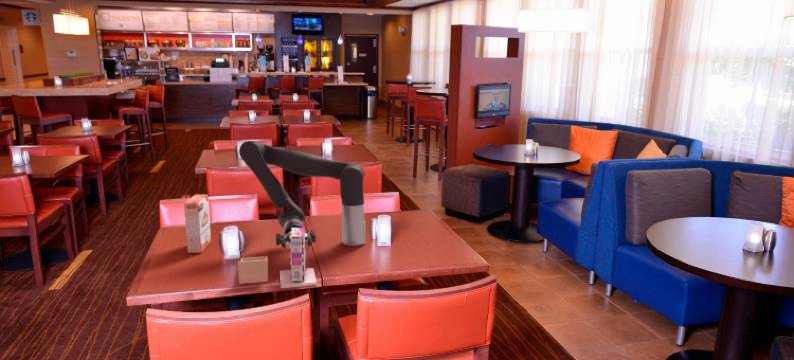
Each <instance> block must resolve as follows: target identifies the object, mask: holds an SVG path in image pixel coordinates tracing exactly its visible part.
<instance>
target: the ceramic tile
mask: <svg viewBox="0 0 794 360" xmlns="http://www.w3.org/2000/svg"><path fill="white" fill-rule="evenodd" d="M279 276H280V277H279V279H280V289H289V288H297V287H299V288H301V287H311V286H317V285H318V283H317V278H316V275H315V270H314V268H313V267H311V268H310V267H308V268H306V270H305V280H304V282H291V276H290V269H285V270H279Z"/></svg>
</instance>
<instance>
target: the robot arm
mask: <svg viewBox="0 0 794 360" xmlns="http://www.w3.org/2000/svg"><path fill="white" fill-rule="evenodd" d="M238 150H239V152H238V153H239V156H240V158H241V160H242V161H243V162H244V163H245V164H246V165H247V166H248V168H249V169H250V170H251V172H252V173H253V174H254V175H255V177H256V178H257V180H258V181H259V183H260V184H261V186H262V187H263V189H264V191H265V192H266V194H267V196H268V198H269V199H270V201H271V203H272V204H273V207H274V208H276V209H280V208H285V207H289V209H288V210H286V211H284V212H282V213H281V214H280V215H279V216H278V223H279V225H280V227H282V228H283V234H280V233H276V234H275V245H276V246H280V245H281V248H283V249H287V248H286V245H290V242H289V236H290V232H291V228H299V227H304V225H303V222H304V221H305V219H306V215H305V212H304V211H303V210H302V209H301V207H299V206H298V205H297V204H296V203H295V202H294V201H293V200H292V199H291V197H290V196H289V194H288V192H287V191H286V189H285V188H284V186H283V184H282V182H280V180H279V179H278V178H277V177H276V176H275V175H274V173H273V172H272V170H271V169H270V168H269V166H268V165H271V166H276V167H277V168H281V169H282V170H285V171H287V172H291V173H294V174H295V175H301V176H304V177H314V178H320V177H321V178H331V179H335V180H339V182H340V183H339V186H340V189H339V190H340V199H341V229H342V230H341V232H342V233H341V234H342V237H341V238H342V239H341V240H342V244H343V245H345V246H349V247H357V246H362V245H365V244H366V220H365V196H364V179H365V175H366V174H365V173H366V172H365V170H364V168H363V167H362V166H361V165H359V164H357V163H353V162H352V163H351V162H343V161H339V160H338V161H337V160H333V159H329V158H326V157H323V156H319V155H315V154H312V153H307V152H304V151H299V150H293V149H286V148H285V149H284V148H279V147H275V146H271V145H269V144H266V143H263V142H261V141H258V140H247V141H246V140H245V141H243V142H242V143H241V145H240V146H239V149H238ZM316 236H317V235H316V233H315V231H314V230H311V231H309V232H308V233H307V232H306V231H305V244H306V243H307V247H311V245H312V243H317V242H316V241H317V240H316V238H317V237H316Z"/></svg>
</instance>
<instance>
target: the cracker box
mask: <svg viewBox="0 0 794 360" xmlns="http://www.w3.org/2000/svg"><path fill="white" fill-rule="evenodd" d="M209 203H210V201H209V194H194V195H193V196H191V197H190V198H189V199H187V200H186V201H185V202H184V203H183V210H184V221H185V222H184V223H185V235H186V236H185V237H186V248H187V254H202V253H203V252H204V251H205V249H207V247H208V246H209V245H210V244H211V242H212V237H211V220H210V219H211V218H210V207H209V206H210V204H209Z"/></svg>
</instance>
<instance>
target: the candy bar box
mask: <svg viewBox="0 0 794 360" xmlns="http://www.w3.org/2000/svg"><path fill="white" fill-rule="evenodd" d="M305 232H306V231H305V227H304V226H303V227H299V228H291V232H290V236H289V242H290V244H289V267H290V268H289V270H290V276H291V282H304V280H305V270H306V269H307V268H306V243H305Z"/></svg>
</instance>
